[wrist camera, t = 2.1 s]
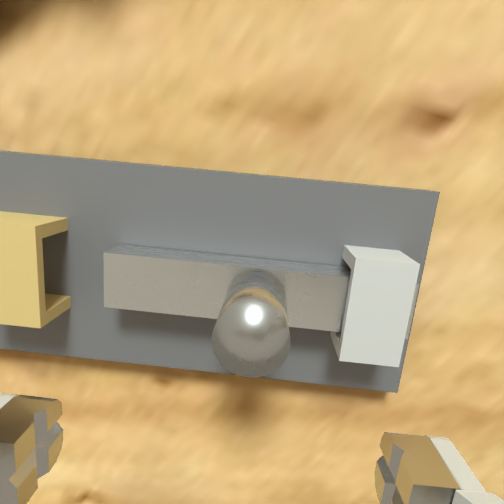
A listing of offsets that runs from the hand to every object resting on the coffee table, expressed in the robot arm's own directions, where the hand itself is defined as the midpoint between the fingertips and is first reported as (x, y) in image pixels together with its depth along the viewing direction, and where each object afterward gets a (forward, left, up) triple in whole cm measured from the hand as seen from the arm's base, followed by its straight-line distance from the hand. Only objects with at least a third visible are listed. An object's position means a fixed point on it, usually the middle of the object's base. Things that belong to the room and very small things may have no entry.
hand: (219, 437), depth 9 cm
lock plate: (+3, 0, -13) cm, 14 cm away
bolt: (-1, 0, -12) cm, 12 cm away
